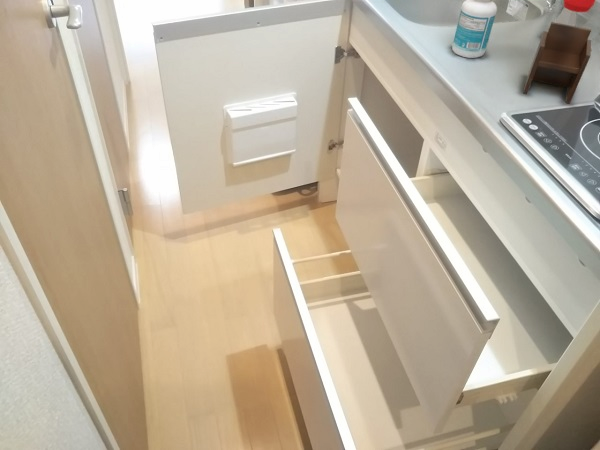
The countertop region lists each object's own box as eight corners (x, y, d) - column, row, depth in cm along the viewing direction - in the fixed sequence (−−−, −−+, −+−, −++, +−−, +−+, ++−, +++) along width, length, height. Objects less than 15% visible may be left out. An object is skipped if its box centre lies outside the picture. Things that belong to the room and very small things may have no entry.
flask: (580, 41, 126) (598, -1, 119) (562, 48, 123) (579, 4, 116) (554, 31, 130) (570, -11, 123) (536, 37, 127) (551, -6, 120)
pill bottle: (469, 43, 122) (485, -17, 113) (491, 56, 118) (509, -6, 108) (444, 48, 120) (458, -13, 111) (465, 61, 115) (482, -1, 106)
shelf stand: (571, 86, 108) (595, 30, 100) (569, 104, 103) (595, 45, 95) (526, 77, 111) (547, 21, 102) (522, 93, 105) (544, 35, 97)
